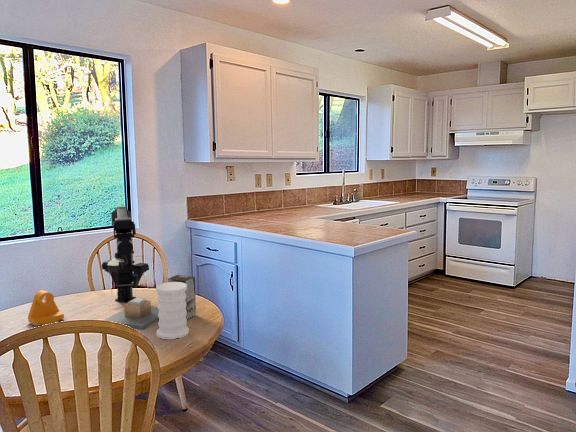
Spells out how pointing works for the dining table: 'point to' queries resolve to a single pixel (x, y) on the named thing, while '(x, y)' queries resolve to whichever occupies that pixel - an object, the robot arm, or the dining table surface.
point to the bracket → (44, 309)
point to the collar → (137, 310)
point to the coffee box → (187, 293)
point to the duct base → (136, 321)
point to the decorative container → (172, 310)
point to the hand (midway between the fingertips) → (126, 286)
